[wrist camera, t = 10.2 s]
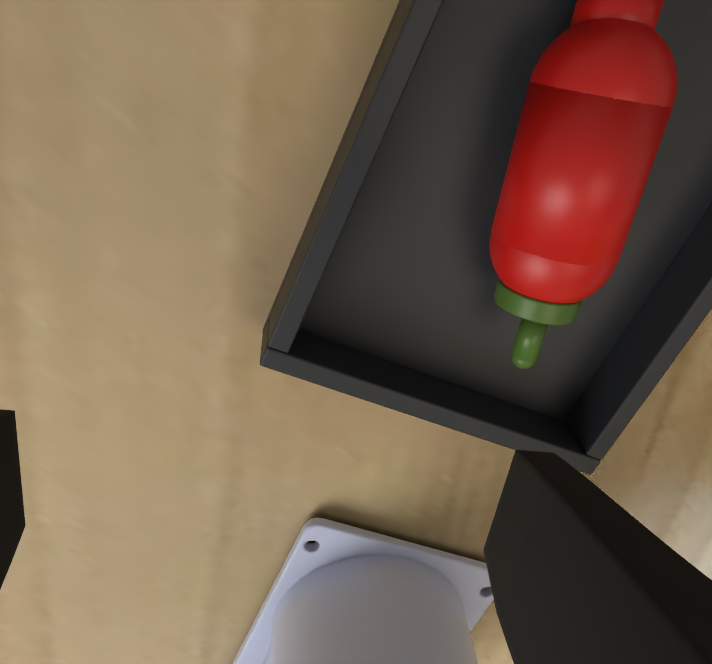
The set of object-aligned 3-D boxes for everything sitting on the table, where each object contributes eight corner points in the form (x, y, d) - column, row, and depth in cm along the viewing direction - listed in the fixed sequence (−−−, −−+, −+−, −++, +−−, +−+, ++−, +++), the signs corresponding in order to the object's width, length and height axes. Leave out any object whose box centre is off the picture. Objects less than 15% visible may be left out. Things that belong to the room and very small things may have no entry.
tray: (563, 433, 21) (591, 476, 19) (262, 329, 18) (258, 365, 17) (890, -45, 15) (975, -54, 14) (522, -296, 13) (563, -353, 11)
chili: (553, 342, 19) (595, 399, 16) (451, 329, 19) (474, 385, 16) (677, -38, 15) (763, -53, 12) (547, -63, 14) (603, -86, 11)
